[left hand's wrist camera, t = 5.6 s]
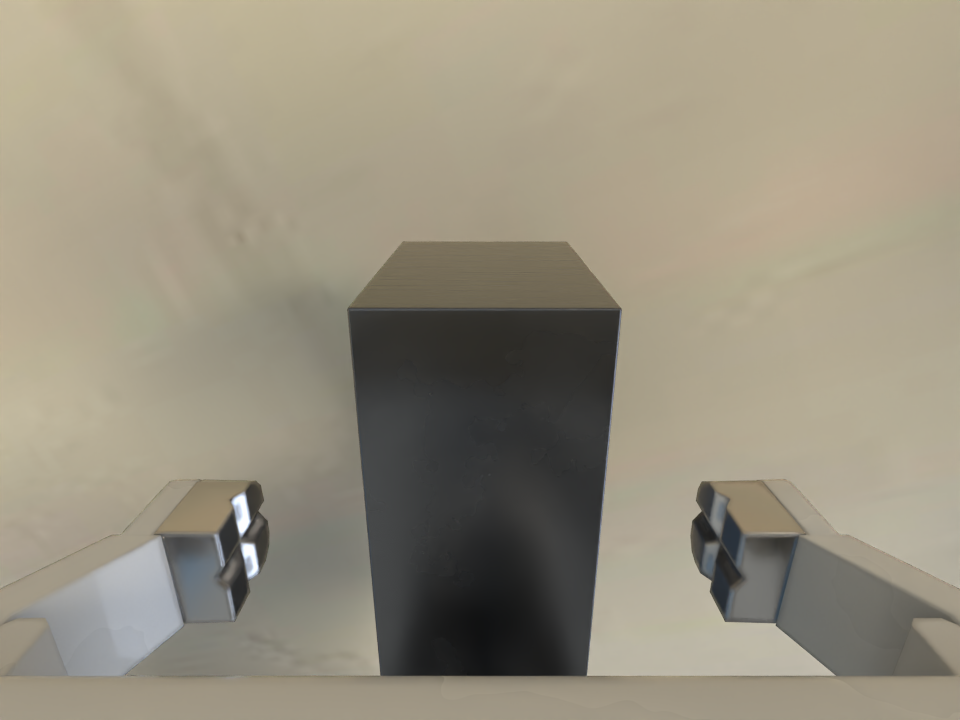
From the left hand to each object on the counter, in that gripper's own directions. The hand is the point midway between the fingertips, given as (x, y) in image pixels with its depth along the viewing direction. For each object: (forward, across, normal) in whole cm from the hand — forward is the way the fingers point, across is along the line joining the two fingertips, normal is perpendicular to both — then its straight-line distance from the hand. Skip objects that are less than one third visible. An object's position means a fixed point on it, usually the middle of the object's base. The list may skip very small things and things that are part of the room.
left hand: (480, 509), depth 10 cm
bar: (+10, 0, -8) cm, 13 cm away
